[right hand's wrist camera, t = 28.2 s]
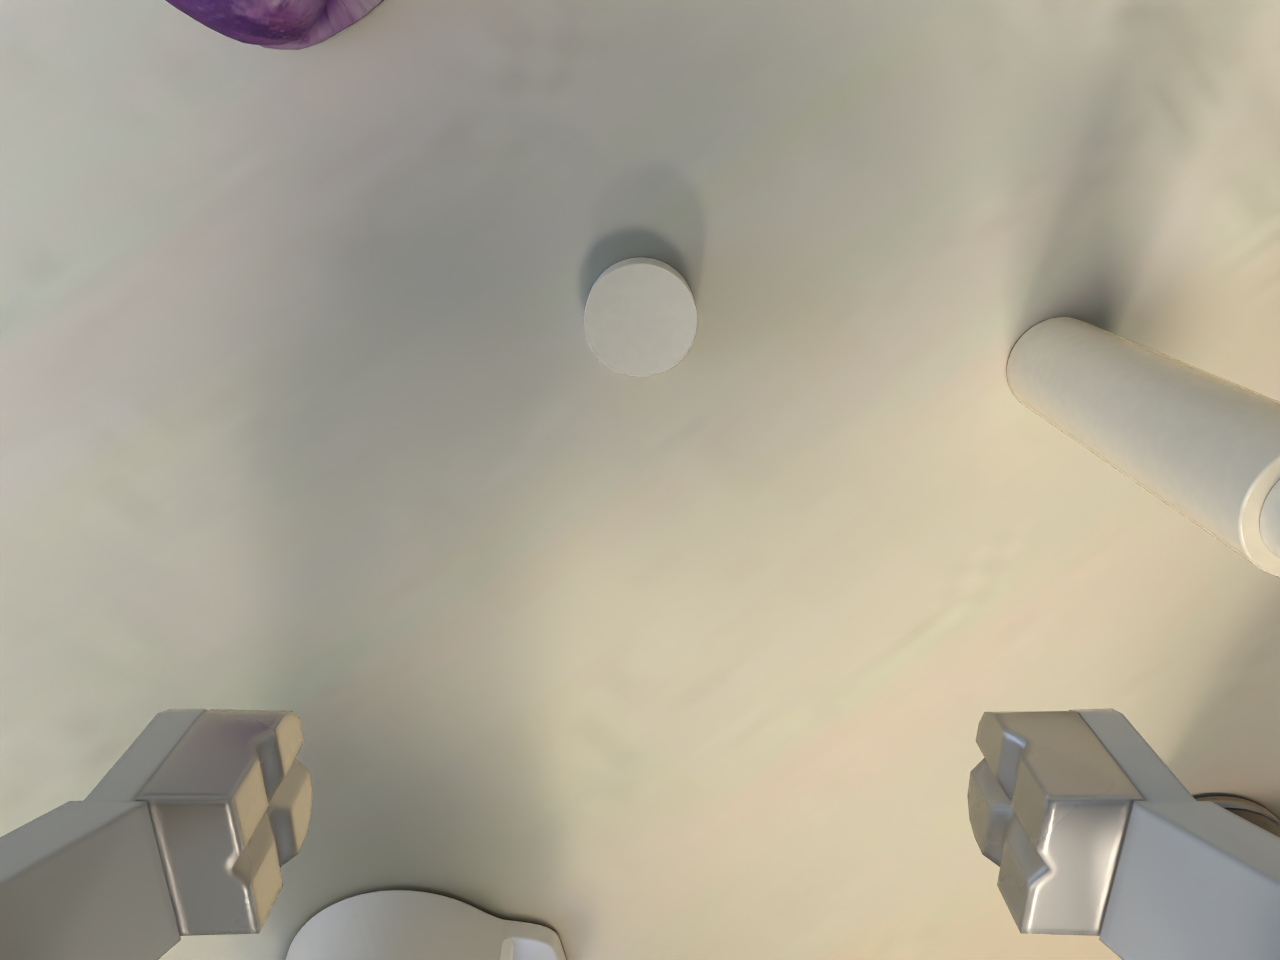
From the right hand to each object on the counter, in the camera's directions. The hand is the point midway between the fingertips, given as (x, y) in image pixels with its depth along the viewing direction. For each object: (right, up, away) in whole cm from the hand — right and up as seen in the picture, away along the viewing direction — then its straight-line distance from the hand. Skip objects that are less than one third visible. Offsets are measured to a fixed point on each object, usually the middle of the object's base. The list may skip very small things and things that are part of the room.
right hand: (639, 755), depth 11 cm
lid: (0, +10, +25) cm, 27 cm away
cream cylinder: (+18, +8, +28) cm, 34 cm away
